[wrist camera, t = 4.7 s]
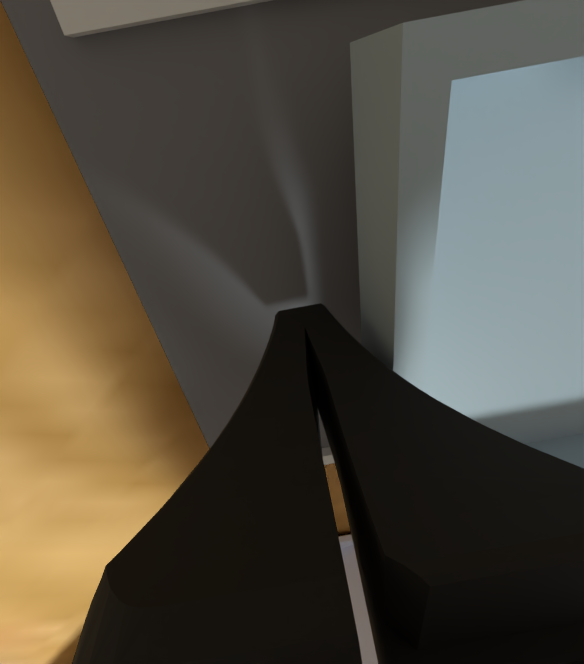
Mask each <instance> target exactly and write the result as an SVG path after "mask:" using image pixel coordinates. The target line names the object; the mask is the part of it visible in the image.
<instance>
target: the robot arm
mask: <svg viewBox="0 0 584 664" xmlns="http://www.w3.org/2000/svg"><path fill="white" fill-rule="evenodd" d="M318 411H319V414H320V417H321V420H322V423H323V427H324V430H325V433H326V436H327V440H328V443H329V446H330V449H331V452H332V456H333V459H334V462H335V465H336V469H337V472H338V476H339V480H340V484H341V488H342V493H343V498H344V502H345V507H346V512H347V516H348V521H349V526H350V530H351V534H350V535H344V536H338V532H337V527H336V522H335V517H334V512H333V507H332V502H331V497H330V492H329V487H328V482H327V477H326V472H325V467H324V462H323V456H322V446H321V435H320V425H319V415H318ZM72 664H584V468H582V467H579V466H577V465H574V464H572V463H569V462H567V461H564V460H562V459H560V458H557V457H555V456H552V455H550V454H547V453H545V452H542V451H540V450H537V449H535V448H532V447H530V446H528V445H525V444H523V443H521V442H519V441H517V440H514V439H512V438H510V437H508V436H506V435H504V434H502V433H500V432H497V431H495V430H493V429H491V428H489V427H487V426H485V425H483V424H481V423H479V422H477V421H475V420H473V419H471V418H469V417H467V416H465V415H464V414H462V413H460V412H458V411H456V410H454V409H453V408H451V407H449V406H447V405H445V404H444V403H442V402H440V401H438V400H436V399H435V398H433V397H431V396H430V395H428V394H427V393H425V392H423V391H422V390H420V389H419V388H417V387H416V386H414V385H413V384H411V383H410V382H408V381H407V380H405V379H404V378H402V377H401V376H400V375H398V374H397V373H395V372H394V371H393V370H391V369H390V368H389V367H388V366H386V365H385V364H384V363H382V362H381V361H380V360H379V359H378V358H376V357H375V356H374V355H373V354H371V353H370V352H369V351H368V350H367V349H366V348H365V347H363V346H362V345H361V344H360V343H359V342H358V341H357V340H356V339H355V338H354V337H353V336H352V335H351V334H350V333H349V332H348V331H347V330H346V329H345V328H344V327H343V326H342V325H341V324H340V323H339V322H338V321H337V320H336V319H335V318H334V316H333V315H332V314H331V313H330V312H329V310H328V309H327V308H326V306H324V305H323V304H321V303H320V304H314V305H309V306H303V307H298V308H292V309H287V310H281V311H278V312H277V314H276V315H275V320H274V325H273V329H272V332H271V335H270V338H269V341H268V344H267V347H266V349H265V352H264V354H263V357H262V360H261V362H260V364H259V366H258V369H257V371H256V373H255V375H254V377H253V379H252V381H251V383H250V385H249V387H248V389H247V391H246V393H245V395H244V397H243V398H242V400H241V402H240V404H239V405H238V407H237V409H236V410H235V412H234V414H233V415H232V417H231V418H230V420H229V422H228V423H227V425H226V426H225V428H224V429H223V430H222V432H221V433H220V435H219V436H218V438H217V439H216V441H215V442H214V444H213V445H212V446H211V448H210V449H209V450H208V452H207V453H206V455H205V456H204V457H203V459H202V460H201V461H200V462H199V464H198V465H197V466H196V467H195V468H194V470H193V471H192V472H191V473H190V475H189V476H188V477H187V478H186V479H185V481H184V482H183V483H182V484H181V485H180V487H179V488H178V489H177V490H176V492H175V493H174V494H173V495H172V496H171V498H170V499H169V500H168V501H167V502H166V503H165V504H164V506H163V507H162V508H161V509H160V510H159V511H158V512H157V513H156V514H155V515H154V516H153V518H152V519H151V520H150V521H149V522H148V523H147V524H146V525H145V526H144V527H143V528H142V529H141V530H140V531H139V532H138V533H137V534H136V535H135V537H134V538H133V539H132V540H131V541H130V542H129V543H128V544H127V545H126V546H125V547H124V548H123V549H122V550H121V551H120V552H119V553H118V554H117V555H116V556H115V557H114V558H113V559H112V560H111V561H110V562H109V563H108V564H107V565H106V567H105V570H104V573H103V575H102V578H101V581H100V583H99V585H98V588H97V590H96V592H95V595H94V597H93V600H92V602H91V605H90V608H89V611H88V614H87V617H86V620H85V623H84V626H83V629H82V633H81V636H80V639H79V643H78V646H77V649H76V652H75V656H74V659H73V662H72Z"/></svg>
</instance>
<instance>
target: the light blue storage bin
mask: <svg viewBox="0 0 584 664" xmlns="http://www.w3.org/2000/svg"><path fill="white" fill-rule="evenodd" d="M350 61H351V86H352V110H353V135H354V160H355V185H356V210H357V235H358V260H359V285H360V309H361V334H362V346H363V347H365V348H366V349H367V350H368V351H369V352H370V353H371V354H373V355H374V356H375V357H376V358H378V359H379V360H380V361H381V362H382V363H384V364H385V365H386V366H388V367H389V368H390V369H391V370H393V371H394V372H395V373H397V374H398V375H400V376H401V377H402V378H404V379H405V380H407V381H408V382H410V383H411V384H413V385H414V386H416V387H417V388H419V389H420V390H422V391H423V392H425V393H427V394H428V395H430V396H431V397H433V398H435V399H436V400H438V401H440V402H442V403H444V404H445V405H447V406H449V407H451V408H453V409H454V410H456V411H458V412H460V413H462V414H464V415H465V416H467V417H469V418H471V419H473V420H475V421H477V422H479V423H481V424H483V425H485V426H487V427H489V428H491V429H493V430H495V431H497V432H500V433H502V434H504V435H506V436H508V437H510V438H512V439H514V440H517V441H519V442H521V443H523V444H525V445H528V446H530V447H532V448H535V449H537V450H540V451H542V452H545V453H547V454H550V455H552V456H555V457H557V458H560V459H562V460H564V461H567V462H569V463H572V464H574V465H577V466H579V467H582V468H584V0H523V1H517V2H512V3H507V4H501V5H496V6H490V7H485V8H480V9H474V10H469V11H463V12H458V13H452V14H447V15H442V16H436V17H431V18H425V19H420V20H414V21H409V22H404V23H401V24H398V25H395V26H393V27H390V28H387V29H385V30H382V31H379V32H377V33H374V34H371V35H369V36H366V37H363V38H361V39H358V40H356V41H353V42H350Z"/></svg>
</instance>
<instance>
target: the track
mask: <svg viewBox="0 0 584 664" xmlns="http://www.w3.org/2000/svg"><path fill="white" fill-rule="evenodd" d="M517 1H523V0H1V3H2V5H3V7H4V9H5V11H6V13H7V15H8V18H9V20H10V22H11V24H12V26H13V28H14V30H15V33H16V35H17V37H18V39H19V41H20V43H21V45H22V48H23V50H24V52H25V54H26V56H27V58H28V60H29V63H30V65H31V67H32V69H33V71H34V73H35V75H36V78H37V80H38V82H39V84H40V86H41V88H42V90H43V93H44V95H45V97H46V99H47V101H48V103H49V105H50V108H51V110H52V112H53V114H54V116H55V118H56V120H57V123H58V125H59V127H60V129H61V131H62V133H63V135H64V138H65V140H66V142H67V144H68V146H69V148H70V150H71V153H72V155H73V157H74V159H75V161H76V163H77V165H78V168H79V170H80V172H81V174H82V176H83V178H84V180H85V183H86V185H87V187H88V189H89V191H90V193H91V195H92V198H93V200H94V202H95V204H96V206H97V208H98V210H99V213H100V215H101V217H102V219H103V221H104V223H105V225H106V228H107V230H108V232H109V234H110V236H111V238H112V240H113V243H114V245H115V247H116V249H117V251H118V253H119V255H120V258H121V260H122V262H123V264H124V266H125V268H126V270H127V273H128V275H129V277H130V279H131V281H132V283H133V285H134V288H135V290H136V292H137V294H138V296H139V298H140V300H141V303H142V305H143V307H144V309H145V311H146V313H147V315H148V318H149V320H150V322H151V324H152V326H153V328H154V330H155V333H156V335H157V337H158V339H159V341H160V343H161V345H162V348H163V350H164V352H165V354H166V356H167V358H168V360H169V363H170V365H171V367H172V369H173V371H174V373H175V375H176V378H177V380H178V382H179V384H180V386H181V388H182V390H183V393H184V395H185V397H186V399H187V401H188V403H189V405H190V408H191V410H192V412H193V414H194V416H195V418H196V420H197V423H198V425H199V427H200V429H201V431H202V433H203V435H204V438H205V440H206V442H207V444H208V446H209V448H211V446H212V445H213V444H214V442H215V441H216V439H217V438H218V436H219V435H220V433H221V432H222V430H223V429H224V428H225V426H226V425H227V423H228V422H229V420H230V418H231V417H232V415H233V414H234V412H235V410H236V409H237V407H238V405H239V404H240V402H241V400H242V398H243V397H244V395H245V393H246V391H247V389H248V387H249V385H250V383H251V381H252V379H253V377H254V375H255V373H256V371H257V369H258V366H259V364H260V362H261V360H262V357H263V354H264V352H265V349H266V347H267V344H268V341H269V338H270V335H271V332H272V329H273V325H274V320H275V315H276V314H277V312H278V311H281V310H287V309H292V308H298V307H303V306H309V305H314V304H320V303H321V304H323V305H324V306H326V308H327V309H328V310H329V312H330V313H331V314H332V315H333V316H334V318H335V319H336V320H337V321H338V322H339V323H340V324H341V325H342V326H343V327H344V328H345V329H346V330H347V331H348V332H349V333H350V334H351V335H352V336H353V337H354V338H355V339H356V340H357V341H358V342H359V343H360V344H361V345H362V334H361V309H360V285H359V260H358V235H357V210H356V185H355V160H354V135H353V110H352V86H351V61H350V42H353V41H356V40H358V39H361V38H363V37H366V36H369V35H371V34H374V33H377V32H379V31H382V30H385V29H387V28H390V27H393V26H395V25H398V24H401V23H404V22H409V21H414V20H420V19H425V18H431V17H436V16H442V15H447V14H452V13H458V12H463V11H469V10H474V9H480V8H485V7H490V6H496V5H501V4H507V3H512V2H517ZM318 415H319V425H320V435H321V446H322V456H323V462H324V465H327V464H333V463H335V462H334V459H333V456H332V452H331V449H330V446H329V443H328V440H327V436H326V433H325V430H324V427H323V423H322V420H321V417H320V414H319V411H318Z"/></svg>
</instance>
